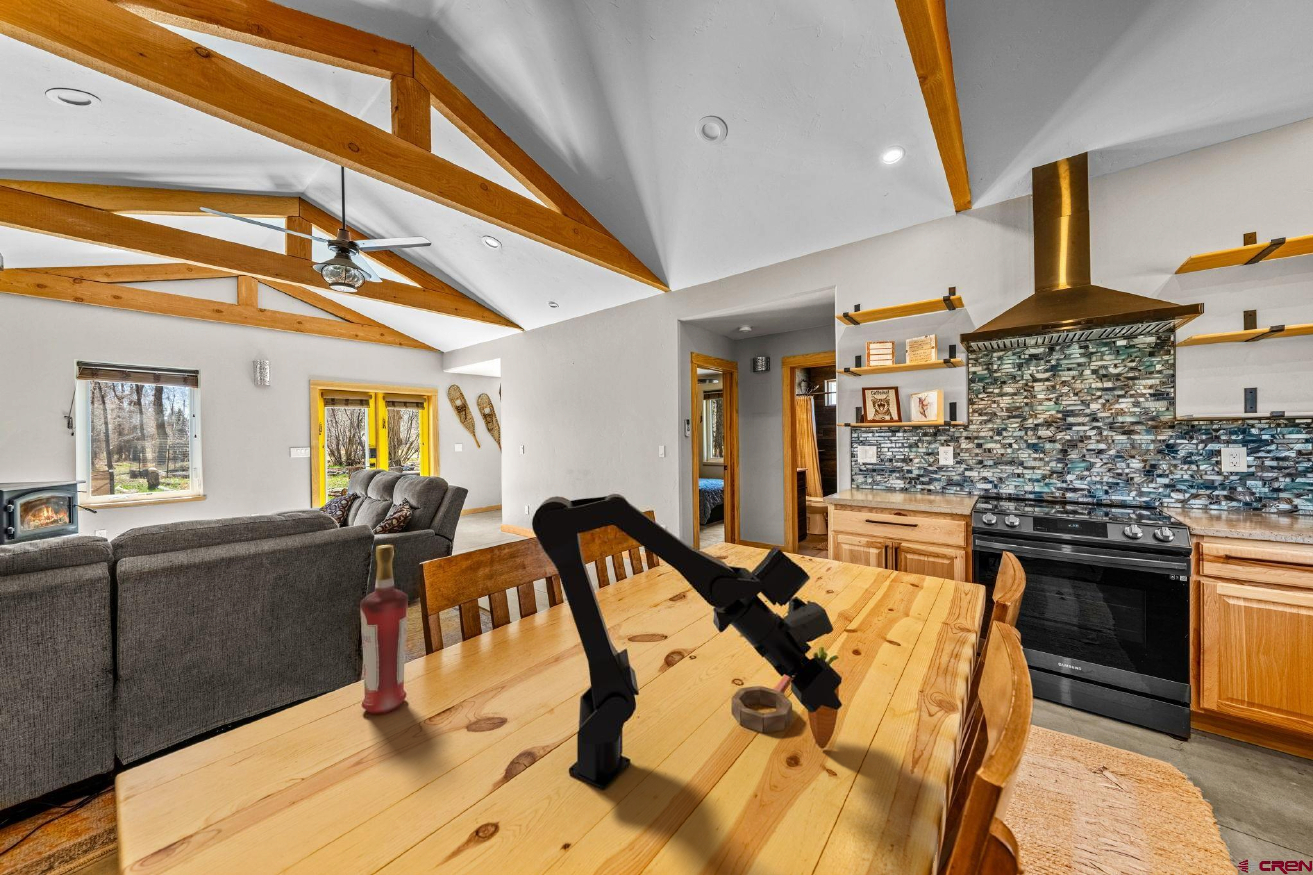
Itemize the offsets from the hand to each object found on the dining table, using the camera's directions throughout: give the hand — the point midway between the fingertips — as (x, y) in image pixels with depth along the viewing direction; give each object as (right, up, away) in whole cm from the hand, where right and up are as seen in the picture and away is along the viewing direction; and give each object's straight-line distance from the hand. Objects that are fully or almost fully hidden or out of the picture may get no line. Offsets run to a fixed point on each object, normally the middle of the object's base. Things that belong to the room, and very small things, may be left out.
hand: (830, 697), depth 74 cm
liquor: (-74, -8, +11) cm, 75 cm away
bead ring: (-9, -8, +9) cm, 15 cm away
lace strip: (-3, -8, +20) cm, 22 cm away
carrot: (-1, -8, 0) cm, 8 cm away
